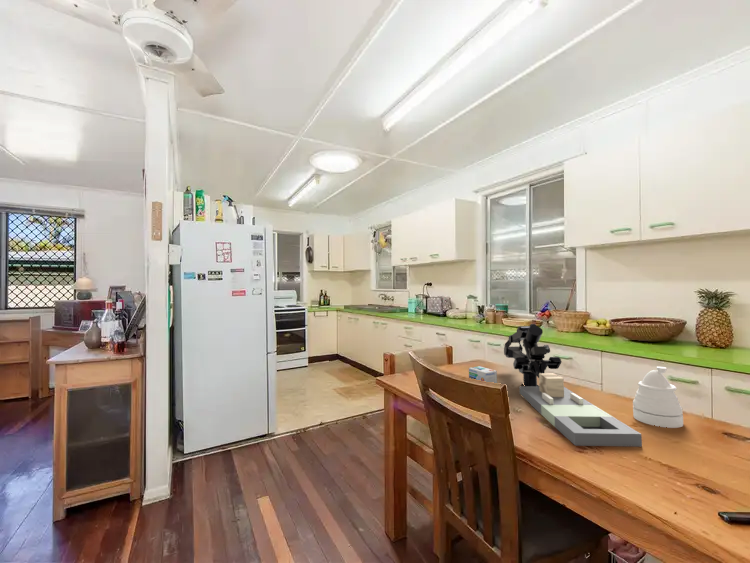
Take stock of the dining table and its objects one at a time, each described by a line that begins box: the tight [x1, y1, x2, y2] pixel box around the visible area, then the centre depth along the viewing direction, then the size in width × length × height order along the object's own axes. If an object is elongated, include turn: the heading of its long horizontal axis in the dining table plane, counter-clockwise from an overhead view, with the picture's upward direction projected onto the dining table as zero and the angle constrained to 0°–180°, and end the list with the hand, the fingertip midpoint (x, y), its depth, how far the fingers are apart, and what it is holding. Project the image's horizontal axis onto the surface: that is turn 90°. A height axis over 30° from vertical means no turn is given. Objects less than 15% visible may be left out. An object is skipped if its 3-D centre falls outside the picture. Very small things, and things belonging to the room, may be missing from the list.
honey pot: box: [632, 366, 684, 429], centre depth 113 cm, size 13×13×18 cm
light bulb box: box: [468, 365, 498, 384], centre depth 145 cm, size 11×7×11 cm, turn 25°
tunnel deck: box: [519, 385, 643, 448], centre depth 119 cm, size 47×18×6 cm, turn 175°
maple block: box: [538, 372, 565, 397], centre depth 132 cm, size 8×6×7 cm
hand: (542, 380), depth 140 cm, fingers closed
